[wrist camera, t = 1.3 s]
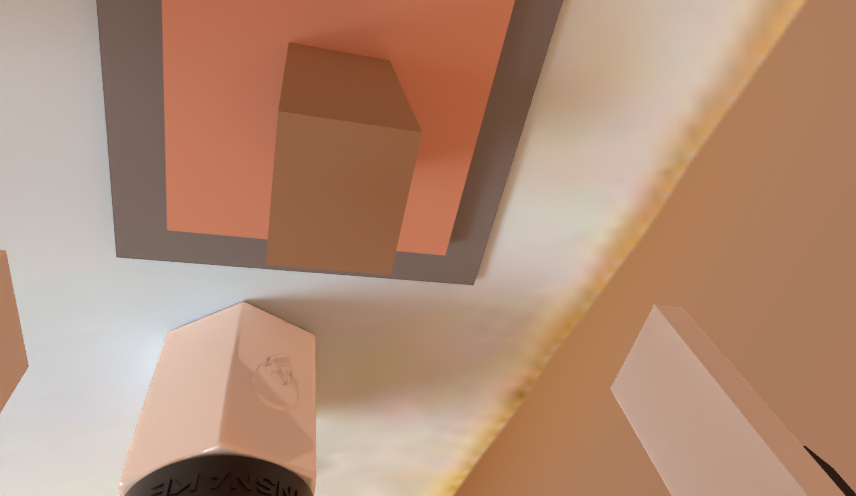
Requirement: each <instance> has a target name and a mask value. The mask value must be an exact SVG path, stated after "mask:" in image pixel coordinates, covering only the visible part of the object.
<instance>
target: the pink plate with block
mask: <svg viewBox="0 0 856 496" xmlns="http://www.w3.org/2000/svg"><path fill="white" fill-rule="evenodd" d="M514 3H515V0H162V33H163V76H164V118H165V160H166V202H167V230H170V231H181V232H192V233H203V234H214V235H225V236H236V237H247V238H258V239H268V241H267V253H266V265H271V266H284V267H296V268H309V269H321V270H334V271H346V272H359V273H372V274H384V275H391V272H392V267H393V263H394V258H395V254H396V251H401V252H412V253H423V254H434V255H446V251H447V247H448V244H449V240H450V236H451V233H452V229H453V225H454V222H455V218H456V215H457V211H458V207H459V204H460V200H461V196H462V193H463V189H464V185H465V182H466V178H467V174H468V171H469V167H470V163H471V160H472V156H473V152H474V149H475V145H476V141H477V138H478V134H479V131H480V127H481V123H482V120H483V116H484V112H485V109H486V105H487V101H488V98H489V94H490V90H491V87H492V83H493V79H494V76H495V72H496V68H497V65H498V61H499V57H500V54H501V50H502V47H503V43H504V39H505V36H506V32H507V28H508V25H509V21H510V17H511V14H512V10H513V6H514Z"/></svg>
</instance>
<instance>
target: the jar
mask: <svg viewBox="0 0 856 496" xmlns="http://www.w3.org/2000/svg"><path fill="white" fill-rule="evenodd" d="M315 484H316V344H315V336H314V335H313V334H312V333H309V332H307V331H305V330H303V329H301V328H299V327H297V326H295V325H292V324H290V323H288V322H286V321H284V320H282V319H280V318H278V317H276V316H273V315H271V314H269V313H267V312H265V311H263V310H261V309H259V308H257V307H254V306H252V305H250V304H248V303H246V302H241V303H238V304H236V305H233V306H231V307H228V308H226V309H224V310H221V311H219V312H216V313H214V314H211V315H209V316H206V317H204V318H201V319H199V320H196V321H194V322H191V323H189V324H187V325H184V326H182V327H179V328H177V329H174V330H171V331H169V332H168V333H167V334H166V337H165V340H164V343H163V346H162V349H161V352H160V355H159V358H158V361H157V365H156V368H155V371H154V374H153V377H152V380H151V383H150V386H149V389H148V392H147V395H146V398H145V401H144V404H143V407H142V411H141V414H140V417H139V420H138V423H137V426H136V429H135V432H134V435H133V438H132V441H131V444H130V447H129V450H128V453H127V457H126V460H125V463H124V466H123V469H122V472H121V475H120V478H119V481H118V487H119V493H120V496H314V493H315Z"/></svg>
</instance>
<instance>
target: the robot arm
mask: <svg viewBox="0 0 856 496" xmlns="http://www.w3.org/2000/svg"><path fill="white" fill-rule="evenodd" d="M28 366H29V365H28V360H27V355H26V350H25V345H24V340H23V335H22V330H21V325H20V320H19V315H18V310H17V305H16V300H15V295H14V290H13V284H12V279H11V274H10V269H9V264H8V259H7V254H6V250H0V412H1V411H2V409H3V407H4V406H5V404H6V403H7V401H8V399H9V398H10V396H11V394H12V393H13V391H14V389H15V388H16V386H17V384H18V383H19V381H20V380H21V378H22V376H23V375H24V373H25V371H26V370H27V368H28ZM610 390H611V391H612V393H613V395H614V397H615V398H616V400H617V402H618V403H619V405H620V407H621V409H622V410H623V412H624V414H625V416H626V417H627V419H628V421H629V423H630V424H631V426H632V427H633V429H634V431H635V433H636V435H637V436H638V438H639V440H640V442H641V443H642V445H643V447H644V448H645V450H646V452H647V454H648V455H649V457H650V459H651V461H652V462H653V464H654V466H655V468H656V469H657V471H658V473H659V475H660V476H661V478H662V479H663V481H664V483H665V485H666V487H667V488H668V490H669V492H670V494H671V495H672V496H856V494H855V493H854V491H853V490H852V489H851V488H850V487H849V486H848V485H847V484H846V482H845V481H844V480H843V479H842V478H841V477H840V475H839V474H838V473H837V472H836V471H835V470H834V469H833V468H832V467H831V466H830V465H828V464H827V463H826V462H825V461H823V460H822V459H821V458H820V457H818V456H817V455H816V454H814V453H813V452H812V451H811V450H810V449H808V448H807V447H806V446H802V445H801V444H800V442H799V441H798V440H797V439H796V438H795V437H794V435H793V434H792V433H791V432H790V431H789V430H788V428H786V426H785V425H784V424H783V423H782V421H781V420H780V419H779V418H778V417H777V416H776V415H775V413H774V412H773V411H772V410H771V409H770V408H769V406H768V405H767V404H766V403H765V402H764V401H763V400H762V398H761V397H760V396H759V395H758V394H757V392H756V391H755V390H754V389H753V388H752V387H751V386H750V384H749V383H748V382H747V381H746V380H745V379H744V378H743V376H742V375H741V374H740V373H739V372H738V370H737V369H736V368H735V367H734V366H733V365H732V364H731V362H730V361H729V360H728V359H727V358H726V357H725V355H724V354H723V353H722V352H721V351H720V350H719V348H718V347H717V346H716V345H715V344H714V343H713V342H712V340H711V339H710V338H709V337H708V336H707V335H706V333H705V332H704V331H703V330H702V329H701V328H700V326H699V325H698V324H697V323H696V322H695V321H694V319H692V317H691V316H690V315H689V314H688V313H687V311H686V310H685V309H684V308H683V307H680V306H668V305H656V304H655V305H654V306H653V308H652V310H651V312H650V314H649V316H648V318H647V320H646V321H645V323H644V325H643V327H642V329H641V331H640V333H639V335H638V337H637V338H636V340H635V343H634V344H633V346H632V348H631V350H630V352H629V354H628V356H627V357H626V359H625V361H624V363H623V365H622V367H621V369H620V371H619V373H618V374H617V376H616V379H615V380H614V382H613V384H612V386H611V388H610Z"/></svg>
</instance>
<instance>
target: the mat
mask: <svg viewBox="0 0 856 496" xmlns="http://www.w3.org/2000/svg"><path fill="white" fill-rule="evenodd" d="M96 1H97V14H98V27H99V39H100V52H101V65H102V78H103V90H104V103H105V116H106V129H107V141H108V154H109V167H110V179H111V192H112V205H113V218H114V230H115V243H116V256H117V257H119V258H132V259H145V260H158V261H171V262H184V263H196V264H209V265H222V266H235V267H248V268H261V269H274V270H286V271H299V272H312V273H325V274H338V275H351V276H363V277H376V278H389V279H402V280H415V281H428V282H441V283H453V284H466V285H474V282H475V279H476V276H477V273H478V269H479V266H480V263H481V260H482V257H483V253H484V250H485V247H486V244H487V241H488V238H489V234H490V231H491V228H492V225H493V222H494V218H495V215H496V212H497V209H498V206H499V202H500V199H501V196H502V193H503V190H504V187H505V183H506V180H507V177H508V174H509V171H510V167H511V164H512V161H513V158H514V155H515V152H516V148H517V145H518V142H519V139H520V136H521V132H522V129H523V126H524V123H525V120H526V116H527V113H528V110H529V107H530V104H531V101H532V97H533V94H534V91H535V88H536V85H537V81H538V78H539V75H540V72H541V69H542V66H543V62H544V59H545V56H546V53H547V50H548V46H549V43H550V40H551V37H552V34H553V31H554V27H555V24H556V21H557V18H558V15H559V11H560V8H561V5H562V2H563V0H515V3H514V6H513V10H512V14H511V17H510V21H509V25H508V28H507V32H506V36H505V39H504V43H503V47H502V50H501V54H500V57H499V61H498V65H497V68H496V72H495V76H494V79H493V83H492V87H491V90H490V94H489V98H488V101H487V105H486V109H485V112H484V116H483V120H482V123H481V127H480V131H479V134H478V138H477V141H476V145H475V149H474V152H473V156H472V160H471V163H470V167H469V171H468V174H467V178H466V182H465V185H464V189H463V193H462V196H461V200H460V204H459V207H458V211H457V215H456V218H455V222H454V225H453V229H452V233H451V236H450V240H449V244H448V247H447V251H446V255H434V254H423V253H412V252H401V251H396V254H395V258H394V263H393V267H392V272H391V275H384V274H372V273H359V272H346V271H334V270H321V269H309V268H296V267H284V266H271V265H266V253H267V241H268V239H258V238H247V237H236V236H225V235H214V234H203V233H192V232H181V231H170V230H167V202H166V160H165V118H164V76H163V33H162V0H96Z"/></svg>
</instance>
